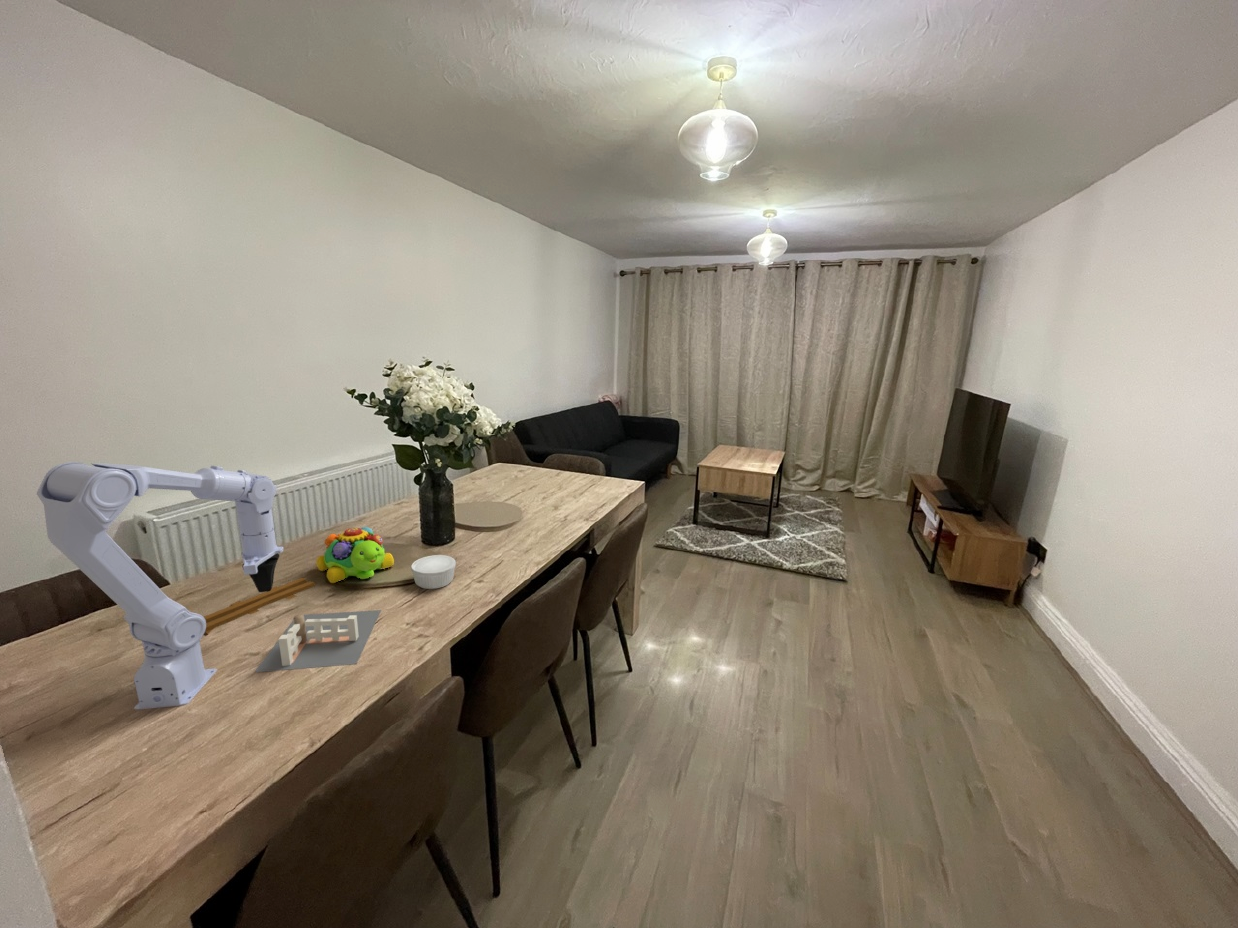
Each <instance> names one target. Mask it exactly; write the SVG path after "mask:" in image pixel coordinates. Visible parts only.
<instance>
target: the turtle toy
mask: <svg viewBox="0 0 1238 928" xmlns="http://www.w3.org/2000/svg"><path fill="white" fill-rule="evenodd" d="M383 542H384V540H383V538H382V536H380V535H379V534H376V533H374V532H373V529H372V528H370V527H367V526H362V527H351V528H348V529H345V530H344V531H343V532H341V533H338V535H336V534H335V533H331V534H329V535H328V536H327V537H326V539H325V540H324V544H325V545H326V550H325V552H324V554H323V555H320V556H318V557H317V558H316V568H317V569H318V571H320V572H325V570H326V571H327V572H326V579H327V580H328V582H329V583H330V584H337V583H336V582H338V581H339V580H343V579H345V578H346V579H347V578H349V577H356V578H357V579H359V578H360V580H365V579H369V577H370V578H372V577H374V576H375V572H374V571H376V570H381V569H380V568H382V569H383V568H386V567H390V566H392V565H393V566H394V564H395V559H394V557H393V555H392V554H391V553H390V552H385V548H384V546H383ZM393 566H392V567H393ZM327 569H328V570H327ZM346 579H345V580H346ZM338 583H339V582H338Z"/></svg>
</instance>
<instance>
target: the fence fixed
mask: <svg viewBox="0 0 1238 928" xmlns="http://www.w3.org/2000/svg"><path fill="white" fill-rule="evenodd" d="M304 615H305V614H298V615H295V616H294V617H293V620H294V625H293V627H292V628H290V629H289V630H288V633H287V635H283V634H281V635H280V637H279V638H278V640H279V646H280V653H281V660H282V666H288V665H291V664H292V662H293V655H296V653H297V652H298V645H299V644H304V643H306V642H307V636H306V628H305V620H304Z"/></svg>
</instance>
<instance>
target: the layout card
mask: <svg viewBox="0 0 1238 928" xmlns="http://www.w3.org/2000/svg"><path fill="white" fill-rule="evenodd" d="M381 612H382V609H376V610H361V611H360V610H358V611H345V612H341V611H340V612H329V613H326V612H325V613H313V614H303V615H304V620H305V621H306V620H307V619H333V618H348V617H349V616H350V615H357V625H358V635H359V637H358V638H357V640H356V641H349V636H340V639H339V640H338V641H332V637H324V639H323V640H322V641H316V640H315V637H307V642H306V643H304V644H299V645H298V652H297V653H296V655H293V662H292V664H291V665H288V666H282V660H281V653H280V646H279V639H278V640H277V641H276V643H275V644H274V646H272V648H271V650H270V651H269V652H268V654H267V655H266V656H265V657H264V659H262V661H261V663H260V664H259V665H258V667H257V668H256V670H254V672H253V673H254V674H255V673H264V672H265V673H266V672H276V671H279V672H280V671H291V670H302V669H311V668H312V669H315V668H324V667H325V668H326V667H327V668H328V667H337V666H338V667H339V666H347V665H348V666H350V665H357V663H358V661H359V660H360V658H361V656H362V653H363V651H364V649H365V646H366V645H367V643H368V640H369V639H370V636H371V634H372V632H373V630H374V627H375V625H376V622H377V620H378V619H379V616H380V614H381ZM293 625H294V619H293V620H292V621H291V623H290V624H289V625H288V626H287V628H286V629H285V631H283V633H282V635H287V633H288V630H289V629H290V628H292V627H293ZM305 628H306V633H307V632H308V631H310V630H314V626H305ZM322 628H323V630H331V625H328V626H322ZM342 629H348V625H339V630H342ZM306 636H307V634H306Z"/></svg>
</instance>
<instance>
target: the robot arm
mask: <svg viewBox="0 0 1238 928" xmlns="http://www.w3.org/2000/svg"><path fill="white" fill-rule="evenodd" d="M90 464H91V465H89V464H85V463H84V462H83V463H82V462H76V461H70V462H63V463H61V464H57V465H55V466H54V467H52V468H51V469H49V470H48V471H47V472H46V474H45V475H44V477H43V479H42V481H41V483H40V485H39V486H38V487H39V488H38V489H37V492H36V495H37V497H38V498H39V501H41V503H42V505H43V509H44V516H45V517H44V518H45V523H46V525H45V526H46V532H47V538H48V539H49V542H51V544H52V545H53V546H55V548H57V549H58V550H59V551H60V552H61V553H62V554H63V555H64V556H65V557H66V558H67V559H68V560H69V561H71V562H72V564H74V565H75V566H76V567H77V568H78V569H79V570H80V571H81V572H82V573H83V574H84V575H86V577H88V578H89V580H91V581H92V582H93V583H94V584H95V585H96V586H97V587H98V588H99V589H100V590H102V592H104V594H106V595H107V596H108V598H110V599H111V600H112V601H113V602H114V603H115V604H117V606H119V608H120V609H122V610H123V611H124V612H125V614H124V616H123V620H125V621H126V622H127V624H128V626H129V633H130V635H131V637H133V638H134V639H136V640H137V641H141V642H142V643H141V644H142V647H143V651H144V658H143V662H142V664H141V665H140V667H139V668H138V670H137V671H136V672H135V674H134V676H133V677H134V678H133V682H134V687H135V691H136V694H137V695H136V696H137V700H138V702H137V704H136V705H135V706H134V707H133V708H134V710H145V709H156V708H167V707H178V706H187V705H188V704H189V703H191V701H193V699H194V698H195V697H196V695H197V694H198V693H199V692H200V691H201V690H202V689H203V688H204V686H206V683H208V682H209V680H211V678H212V677H213V676H214V675H215V673H217V671H218V669H217V668H205V664H204V659H203V653H202V648H201V643H200V642H201V639H202V637H203V636H204V634H205V633H204V632H205V629H206V620H205V618H204V616H203V615H201V614H199V613H196V612H191V611H189V610H188V609H187V608H186V607H185V606H184V605H182V604H181V603H179V602H177V601H175V600H174V599H171V598H169V597H168V596H167V595H166V594H165V592H163V590H161V588H160V587H159V586H158V585H157V584H156V583H155V582H154V581H153V580H152V579H151V578H150V577H149V576H148V575H147V574H146V573H145V572H144V571H143V570H142V568H140V567H139V565H138V564H136V562H135V561H134V560H133V559H132V558H131V557H130V556H129V555H128V554H127V553H126V552H125V550H123V549H122V547H120V546H119V545H118V544H117V542H116V541H115V540H113V538H112V537H111V536H110V535H109V534H108V532H107V530H108V529H109V528H110V527H111V525H112V524H113V523H114V522H115V520H116V519H117V518H119V515H121V513H122V512H124V510H125V509H126V508H127V506H128V505H129V504H130V503H131V501H132V500H133V499H134V497H142V496H143V495H144V494H145V493H146V492H147V490H148V489H149V490H150V489H152V490H153V489H155V490H171V491H174V490H175V491H186V492H187V491H188V492H191V494H192V495H193V497H195V498H197V499H199V500H211V501H212V500H213V501H224V502H225V501H227V502H234V503H235V510H236V519H237V522H238V523H237V524H238V530H239V537H240V542H241V543H240V544H241V550H242V552H241V558H242V560H243V561H242V562H243V563H242V565H241V566H242V570H243V575H244V576H246V575H247V576H249V577H250V578H251V579H252V582H253V583H254V584H253V585H254V586H255V587H256V590H257V591H258V593H265V592H268V591H271V589H272V588H273V585H274V577H275V571H276V570H275V569H276V567H277V564H278V563H277V562H278V560H279V558H280V554H282V553H283V552H284V550H285V549H284V546H278V545H277V541H276V533H275V524H274V517H273V510H272V509H273V507H274V498H275V496H276V494H277V490H278V488H277V487H278V486H277V485H275V484H274V483H273V481H272V479H270V478H269V477H268V476H266V475H262V474H255V473H249V472H247V470H243V469H238V470H237V471H232V470H225V469H224V467H223V466H218V465H210V467H203V468H200V469H198V470H196V471H195V472H194V473H191V472H184V471H176V470H171V469H170V470H169V469H163V468H158V467H157V468H156V467H150V466H145V465H144V466H143V465H137V464H125V463H105V462H102V463H101V462H97V463H96V462H93V463H90Z"/></svg>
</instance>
